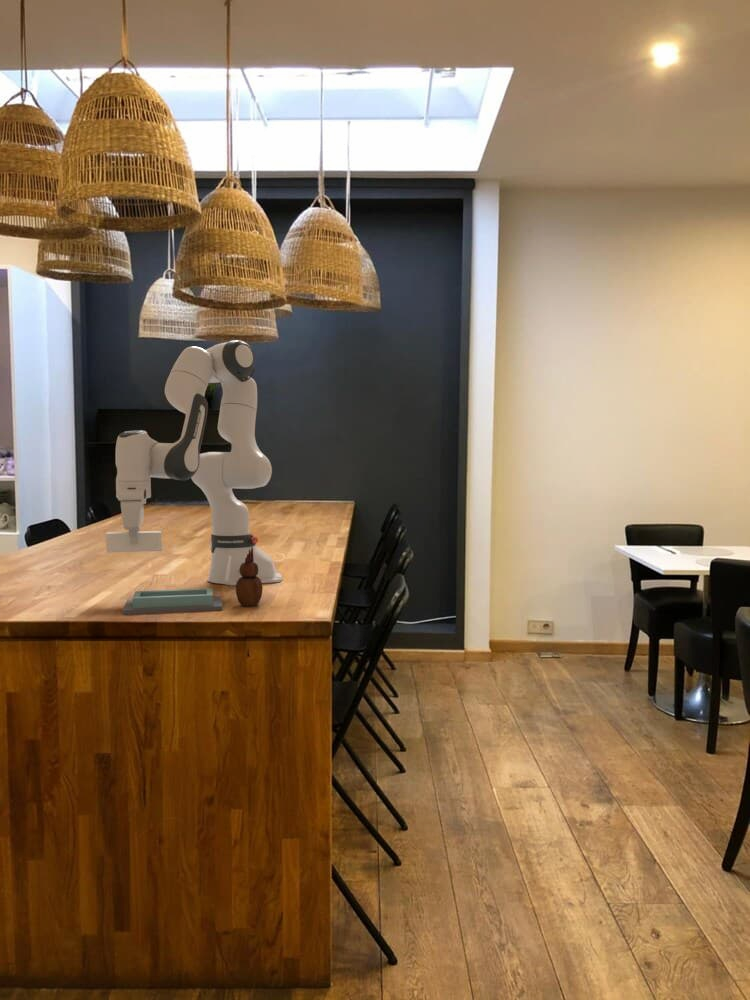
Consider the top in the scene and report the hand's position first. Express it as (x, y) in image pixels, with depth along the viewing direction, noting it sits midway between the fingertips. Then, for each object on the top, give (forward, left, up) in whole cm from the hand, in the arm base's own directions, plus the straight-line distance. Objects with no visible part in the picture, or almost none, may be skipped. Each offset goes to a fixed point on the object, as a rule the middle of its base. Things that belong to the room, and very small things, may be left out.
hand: (134, 542), depth 204 cm
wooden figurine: (-29, +14, -15) cm, 36 cm away
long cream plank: (0, 0, -2) cm, 2 cm away
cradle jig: (-10, +12, -15) cm, 22 cm away
